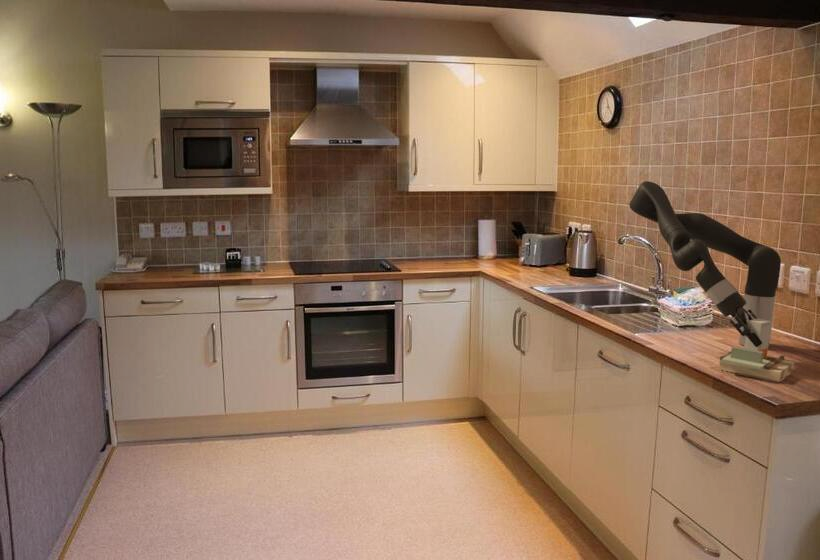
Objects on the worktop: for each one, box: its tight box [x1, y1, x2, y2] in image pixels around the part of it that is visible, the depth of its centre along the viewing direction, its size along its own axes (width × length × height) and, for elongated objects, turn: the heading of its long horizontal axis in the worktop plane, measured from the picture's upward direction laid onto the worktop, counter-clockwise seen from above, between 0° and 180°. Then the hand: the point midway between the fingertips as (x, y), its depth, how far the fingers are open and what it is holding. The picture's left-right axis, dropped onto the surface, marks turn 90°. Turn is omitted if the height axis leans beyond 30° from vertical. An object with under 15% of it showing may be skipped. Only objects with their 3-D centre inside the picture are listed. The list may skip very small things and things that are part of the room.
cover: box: [722, 346, 771, 370], centre depth 198 cm, size 9×11×4 cm
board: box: [718, 350, 796, 384], centre depth 202 cm, size 16×16×4 cm
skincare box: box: [744, 318, 773, 360], centre depth 204 cm, size 6×4×12 cm
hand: (763, 343), depth 203 cm, fingers closed on skincare box, 6 cm apart
